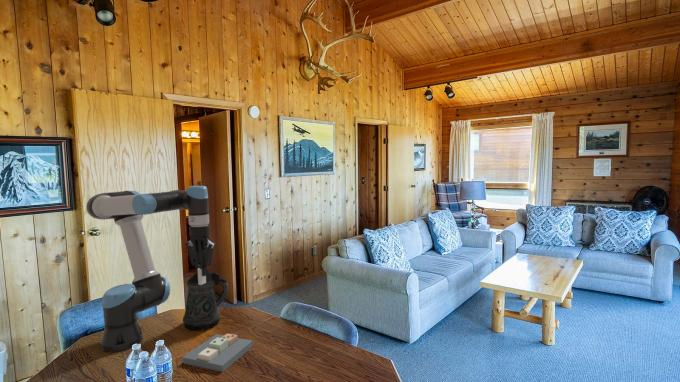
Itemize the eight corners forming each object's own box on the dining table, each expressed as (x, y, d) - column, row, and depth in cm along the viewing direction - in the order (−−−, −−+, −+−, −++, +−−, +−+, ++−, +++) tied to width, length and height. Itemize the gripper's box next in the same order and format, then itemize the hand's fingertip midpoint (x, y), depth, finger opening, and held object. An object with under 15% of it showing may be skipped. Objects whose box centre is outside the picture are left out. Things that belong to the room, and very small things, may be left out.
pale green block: (209, 351, 141) (208, 342, 141) (217, 345, 146) (217, 336, 146) (220, 354, 140) (219, 344, 139) (228, 347, 144) (228, 338, 144)
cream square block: (198, 363, 136) (198, 353, 135) (207, 356, 140) (207, 346, 140) (209, 365, 134) (209, 355, 134) (218, 358, 139) (218, 349, 138)
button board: (182, 363, 137) (182, 357, 137) (216, 339, 155) (216, 334, 155) (222, 372, 131) (222, 365, 131) (252, 346, 149) (252, 340, 148)
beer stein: (177, 323, 171) (174, 271, 169) (217, 311, 184) (215, 262, 182) (191, 335, 159) (188, 279, 157) (233, 321, 172) (230, 269, 170)
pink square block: (219, 347, 147) (219, 338, 147) (227, 341, 152) (227, 332, 151) (230, 349, 145) (229, 340, 145) (237, 343, 150) (237, 334, 150)
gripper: (178, 226, 143) (182, 285, 145) (206, 227, 139) (209, 288, 141) (192, 222, 150) (195, 279, 152) (219, 224, 146) (221, 282, 148)
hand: (202, 283), depth 147 cm, fingers closed
